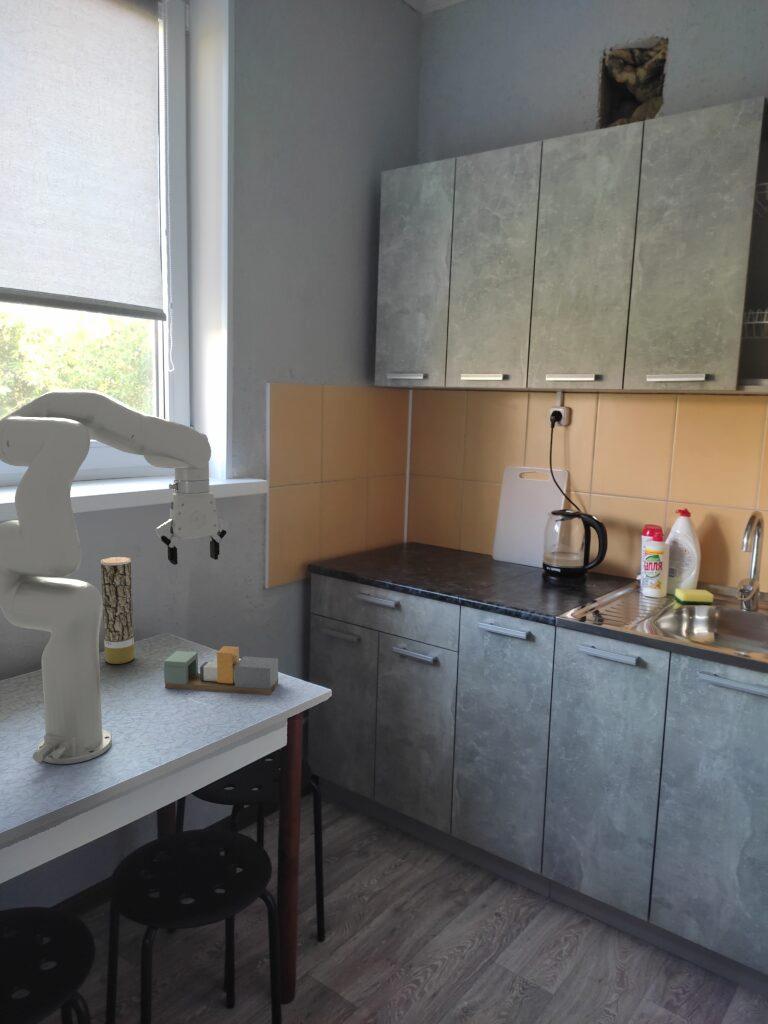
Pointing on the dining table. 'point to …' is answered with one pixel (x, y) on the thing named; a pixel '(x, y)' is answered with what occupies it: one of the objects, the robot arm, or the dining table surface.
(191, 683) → the board
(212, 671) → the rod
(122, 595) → the brown bark cylinder
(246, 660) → the sleeve
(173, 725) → the dining table surface
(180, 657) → the socket
